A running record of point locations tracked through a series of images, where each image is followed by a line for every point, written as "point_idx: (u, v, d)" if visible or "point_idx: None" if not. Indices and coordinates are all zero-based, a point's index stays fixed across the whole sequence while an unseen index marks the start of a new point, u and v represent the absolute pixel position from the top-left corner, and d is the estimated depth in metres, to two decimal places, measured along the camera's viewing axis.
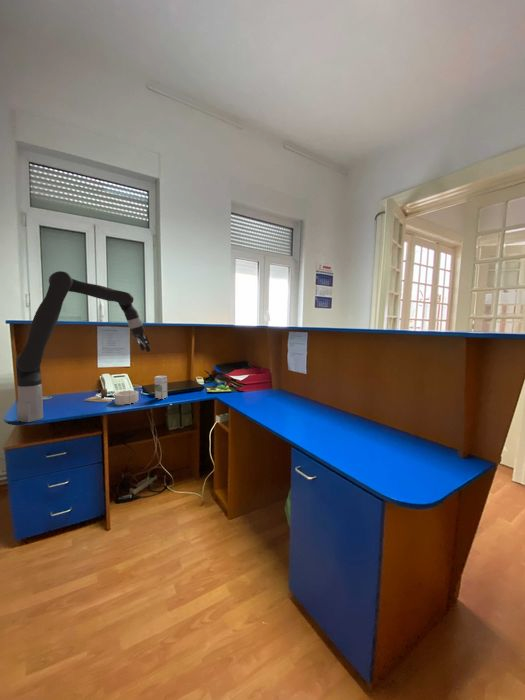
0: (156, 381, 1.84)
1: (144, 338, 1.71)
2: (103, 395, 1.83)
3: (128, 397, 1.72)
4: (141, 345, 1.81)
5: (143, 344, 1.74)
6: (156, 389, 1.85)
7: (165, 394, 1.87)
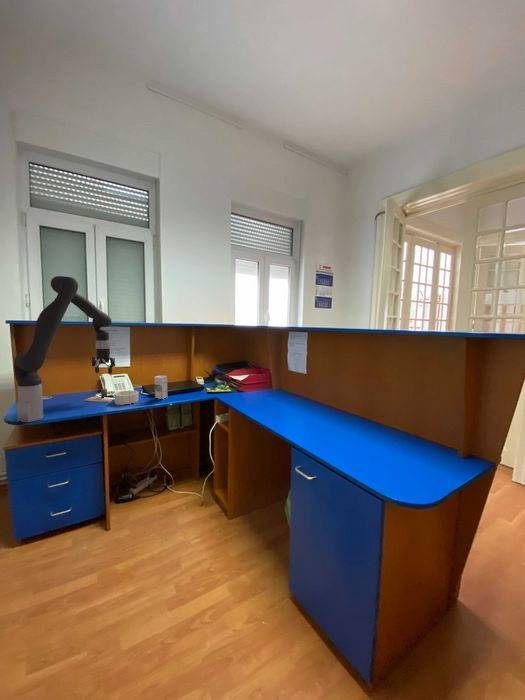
0: (156, 381, 1.84)
1: (113, 360, 1.81)
2: (103, 395, 1.83)
3: (128, 397, 1.72)
4: (97, 368, 1.83)
5: None
6: (156, 389, 1.85)
7: (165, 394, 1.87)
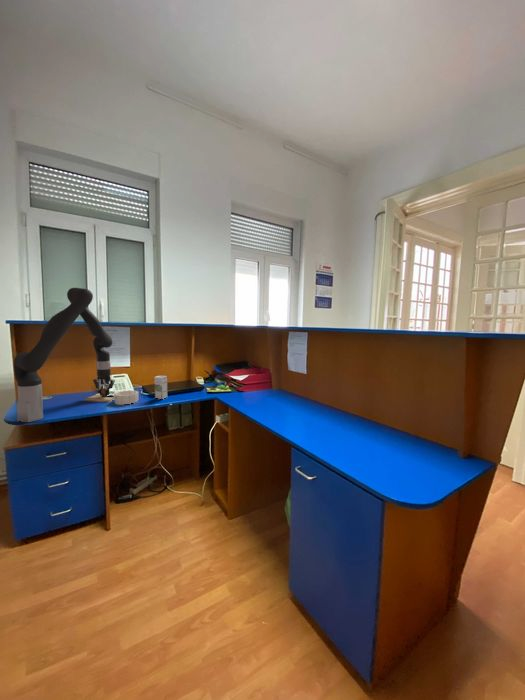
0: (156, 381, 1.84)
1: (112, 383, 1.82)
2: (103, 394, 1.83)
3: (128, 397, 1.72)
4: None
5: (105, 387, 1.82)
6: (156, 389, 1.85)
7: (165, 394, 1.87)
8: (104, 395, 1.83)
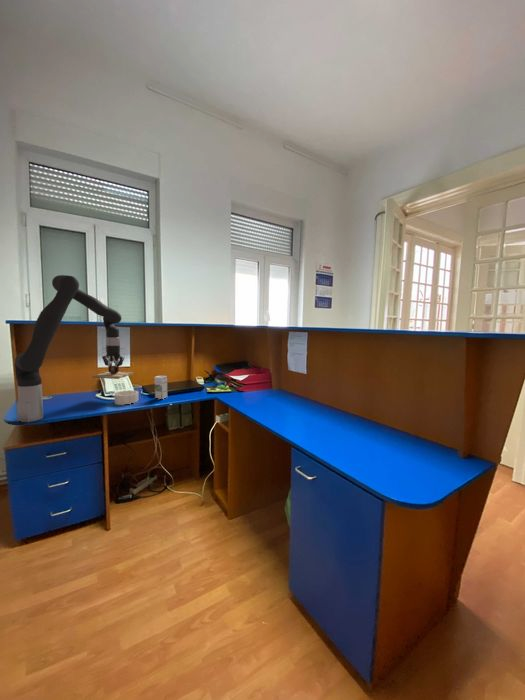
0: (156, 381, 1.84)
1: (122, 359, 1.78)
2: (113, 371, 1.79)
3: (128, 397, 1.72)
4: None
5: None
6: (156, 389, 1.85)
7: (165, 394, 1.87)
8: (113, 372, 1.79)
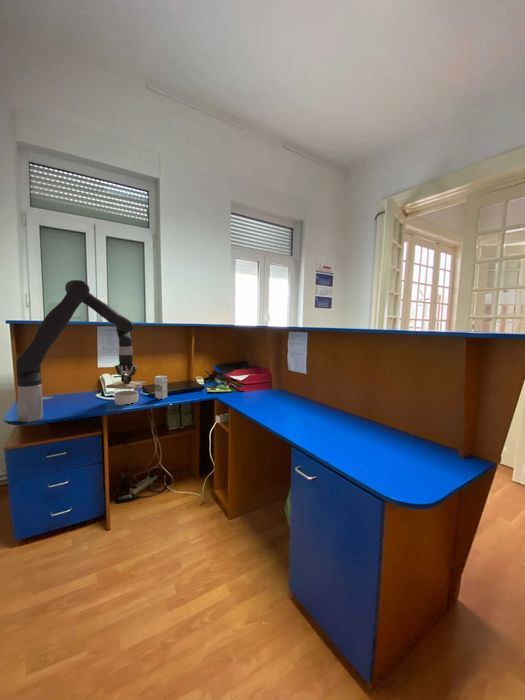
0: (156, 381, 1.84)
1: (135, 369, 1.75)
2: (125, 381, 1.75)
3: (128, 397, 1.72)
4: None
5: (127, 373, 1.75)
6: (156, 389, 1.85)
7: (165, 394, 1.87)
8: (126, 382, 1.76)
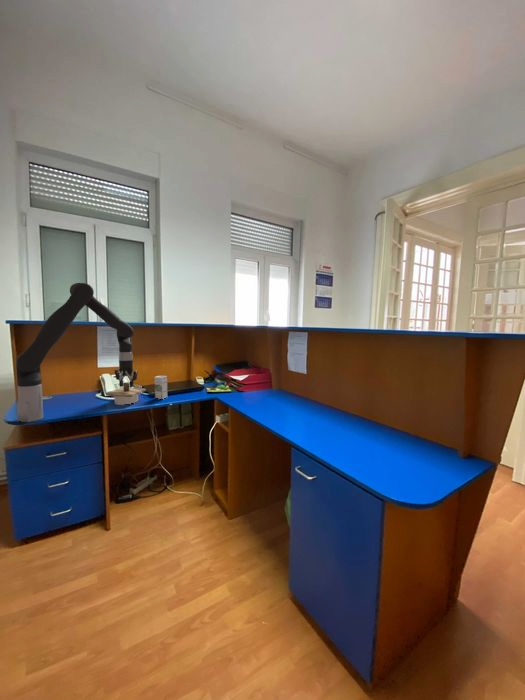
0: (156, 381, 1.84)
1: (135, 373, 1.75)
2: (125, 388, 1.76)
3: (128, 397, 1.72)
4: (121, 381, 1.77)
5: (129, 379, 1.75)
6: (156, 389, 1.85)
7: (165, 394, 1.87)
8: (126, 389, 1.76)
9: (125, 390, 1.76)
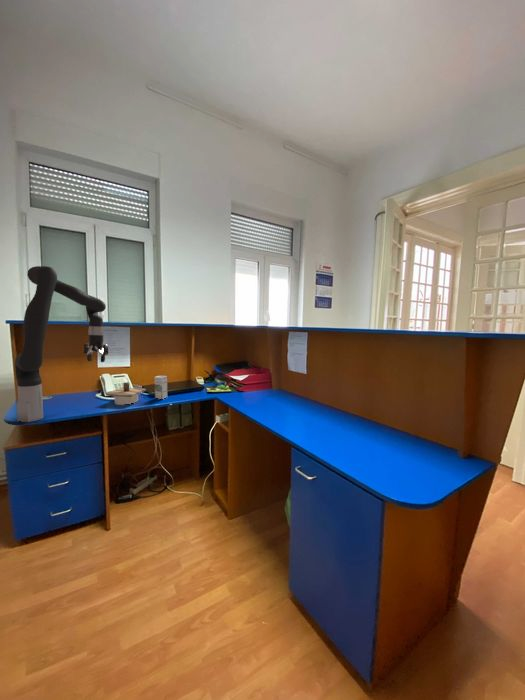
0: (156, 381, 1.84)
1: (106, 347, 1.71)
2: (125, 388, 1.76)
3: (128, 397, 1.72)
4: (89, 355, 1.74)
5: (100, 353, 1.71)
6: (156, 389, 1.85)
7: (165, 394, 1.87)
8: (126, 389, 1.76)
9: (125, 390, 1.76)
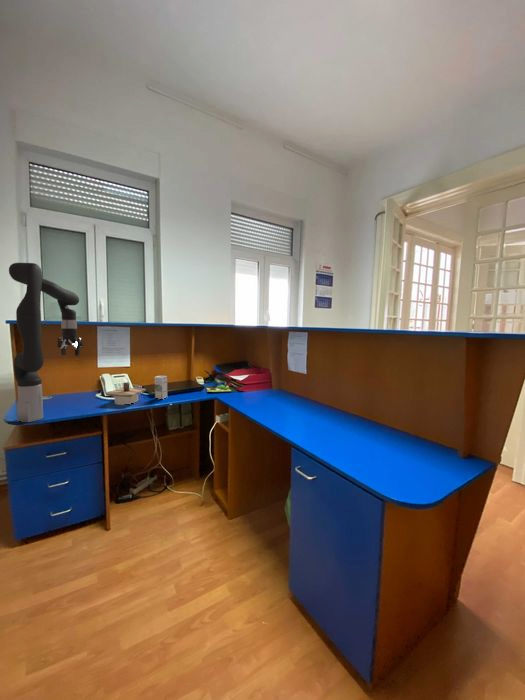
0: (156, 381, 1.84)
1: (80, 341, 1.70)
2: (125, 388, 1.76)
3: (128, 397, 1.72)
4: (64, 349, 1.72)
5: (74, 347, 1.70)
6: (156, 389, 1.85)
7: (165, 394, 1.87)
8: (126, 389, 1.76)
9: (125, 390, 1.76)
